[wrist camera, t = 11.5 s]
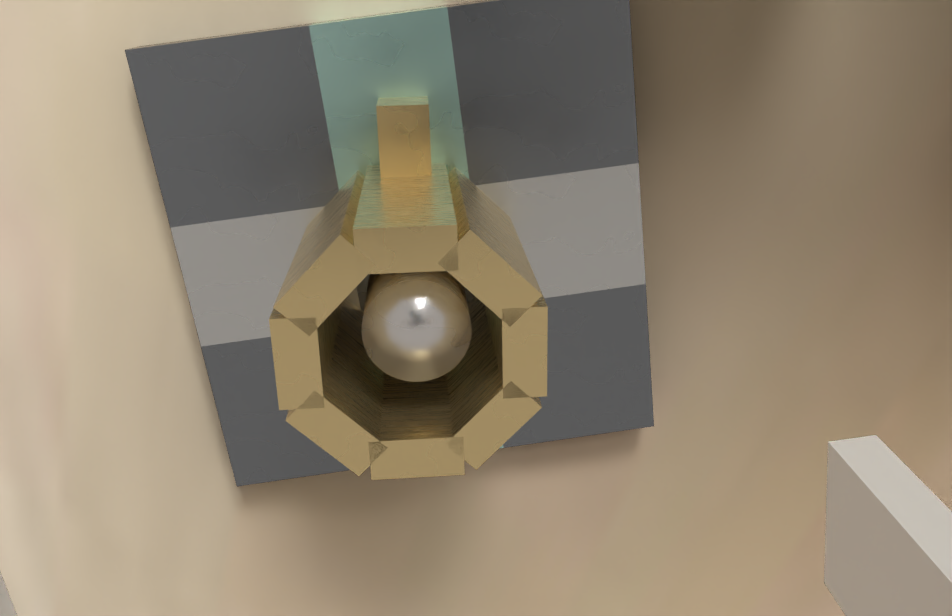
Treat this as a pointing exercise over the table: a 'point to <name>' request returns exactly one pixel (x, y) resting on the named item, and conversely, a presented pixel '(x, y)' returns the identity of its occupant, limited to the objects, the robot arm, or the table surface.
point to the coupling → (402, 251)
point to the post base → (452, 142)
